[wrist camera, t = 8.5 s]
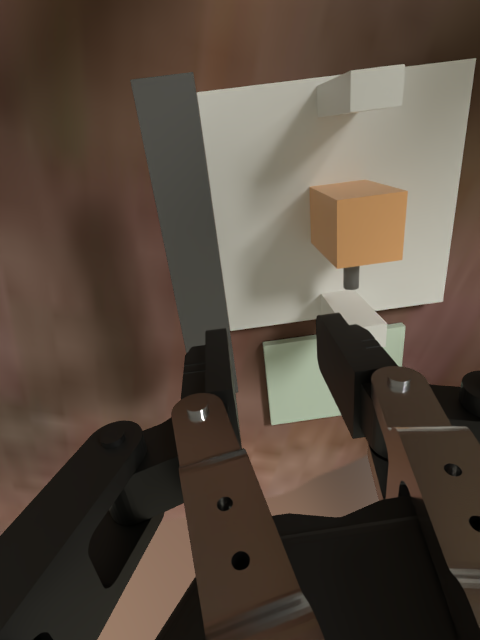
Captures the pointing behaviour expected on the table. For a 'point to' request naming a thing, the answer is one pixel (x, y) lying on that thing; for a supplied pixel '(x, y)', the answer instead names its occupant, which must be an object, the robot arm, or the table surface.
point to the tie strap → (183, 202)
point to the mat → (308, 377)
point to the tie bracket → (329, 168)
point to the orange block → (358, 225)
